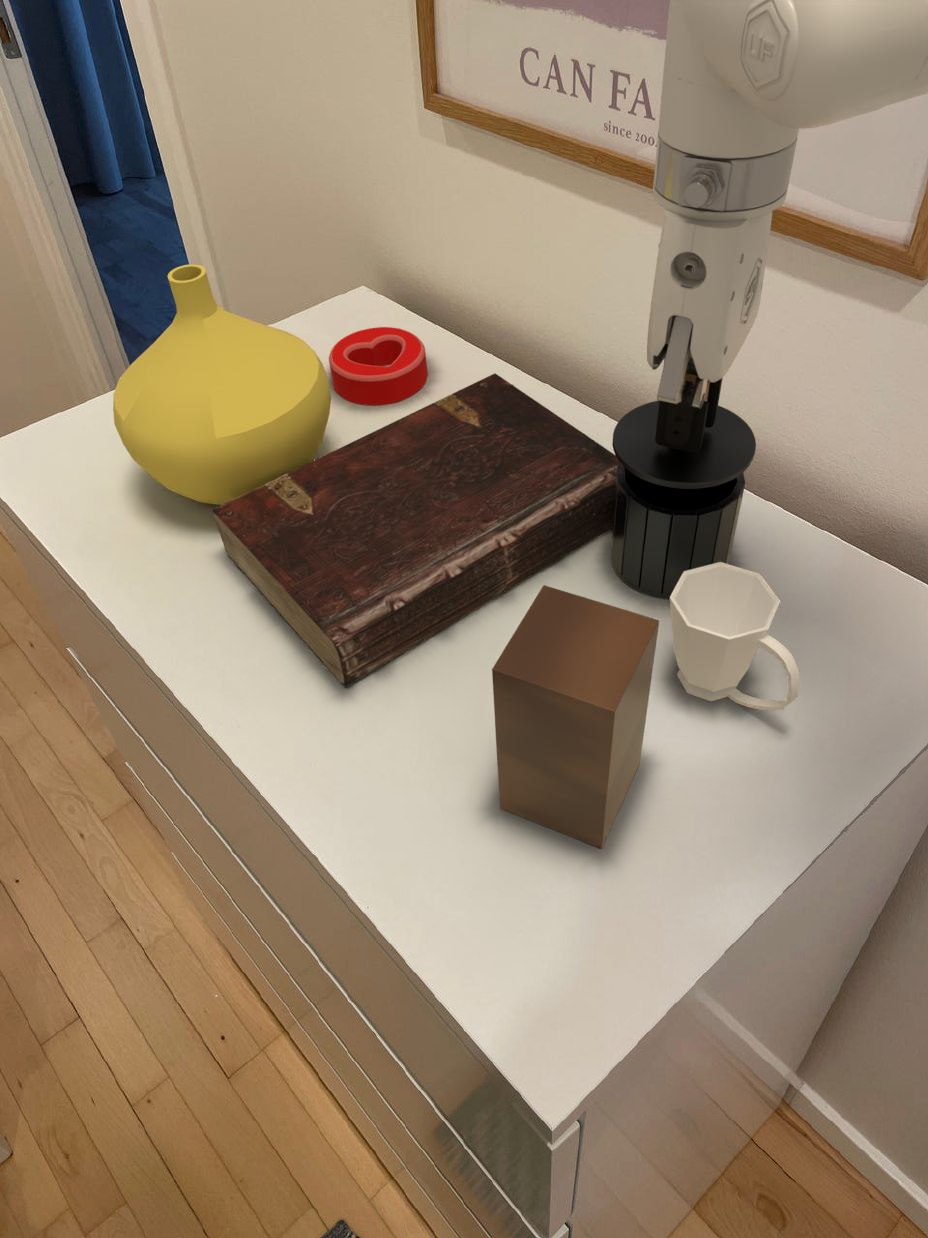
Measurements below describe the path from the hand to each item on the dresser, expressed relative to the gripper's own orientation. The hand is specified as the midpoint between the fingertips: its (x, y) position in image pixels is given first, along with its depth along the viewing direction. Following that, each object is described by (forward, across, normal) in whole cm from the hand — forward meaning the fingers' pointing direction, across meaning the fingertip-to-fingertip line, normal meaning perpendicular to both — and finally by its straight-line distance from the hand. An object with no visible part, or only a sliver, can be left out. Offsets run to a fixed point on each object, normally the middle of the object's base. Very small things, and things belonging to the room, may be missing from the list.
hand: (685, 432), depth 67 cm
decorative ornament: (+13, +14, +35) cm, 40 cm away
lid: (+1, 0, 0) cm, 1 cm away
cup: (+12, -11, -8) cm, 18 cm away
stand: (+12, -23, -1) cm, 26 cm away
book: (+12, -5, +19) cm, 23 cm away
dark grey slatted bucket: (+12, 0, 0) cm, 12 cm away
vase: (+13, -4, +39) cm, 41 cm away
